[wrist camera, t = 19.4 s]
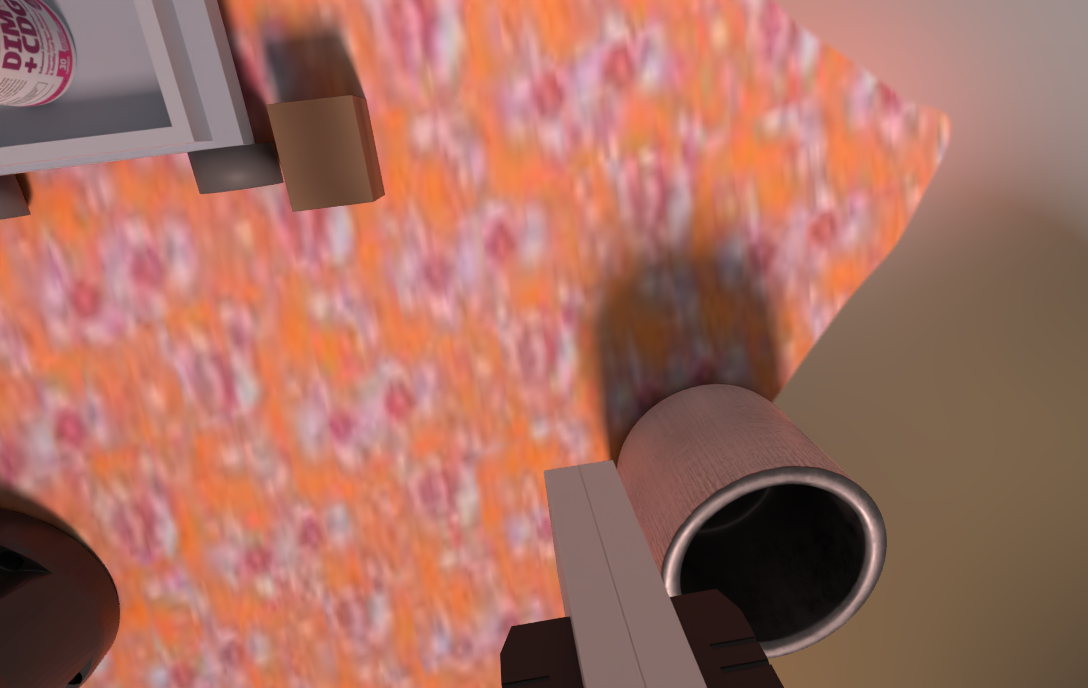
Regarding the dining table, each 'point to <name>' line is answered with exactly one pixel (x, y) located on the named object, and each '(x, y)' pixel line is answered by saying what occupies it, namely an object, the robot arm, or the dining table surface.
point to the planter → (752, 514)
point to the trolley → (140, 100)
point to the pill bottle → (33, 54)
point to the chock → (326, 152)
